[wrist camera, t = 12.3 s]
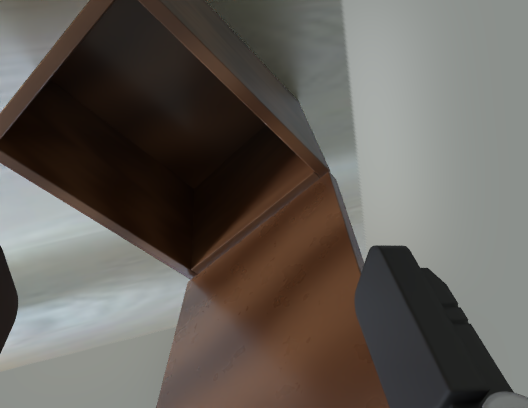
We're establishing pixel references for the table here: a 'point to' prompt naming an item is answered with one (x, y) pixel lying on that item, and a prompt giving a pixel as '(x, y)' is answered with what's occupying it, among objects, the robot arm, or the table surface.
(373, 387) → the lid
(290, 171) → the bread box
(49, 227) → the table surface
